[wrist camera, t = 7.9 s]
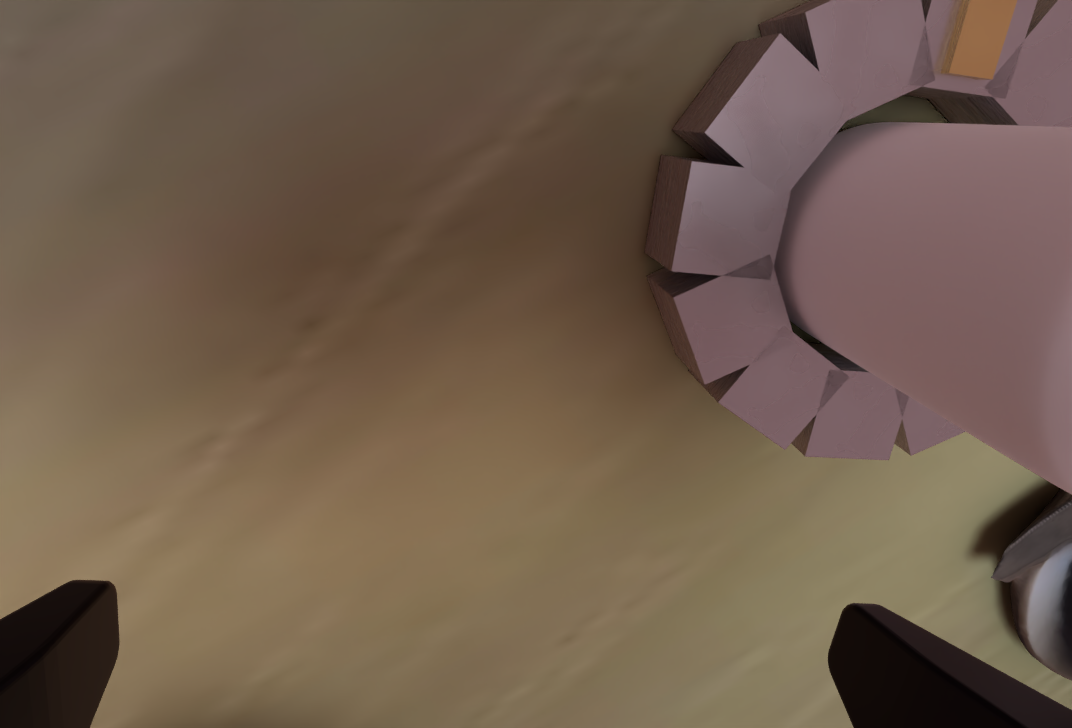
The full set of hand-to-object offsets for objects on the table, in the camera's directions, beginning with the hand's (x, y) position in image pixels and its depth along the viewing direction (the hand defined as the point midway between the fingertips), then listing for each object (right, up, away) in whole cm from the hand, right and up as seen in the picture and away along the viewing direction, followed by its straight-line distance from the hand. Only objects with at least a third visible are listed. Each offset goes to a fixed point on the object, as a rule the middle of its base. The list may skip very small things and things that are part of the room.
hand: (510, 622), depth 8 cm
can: (+10, +7, +13) cm, 18 cm away
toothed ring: (+10, +7, +12) cm, 17 cm away
